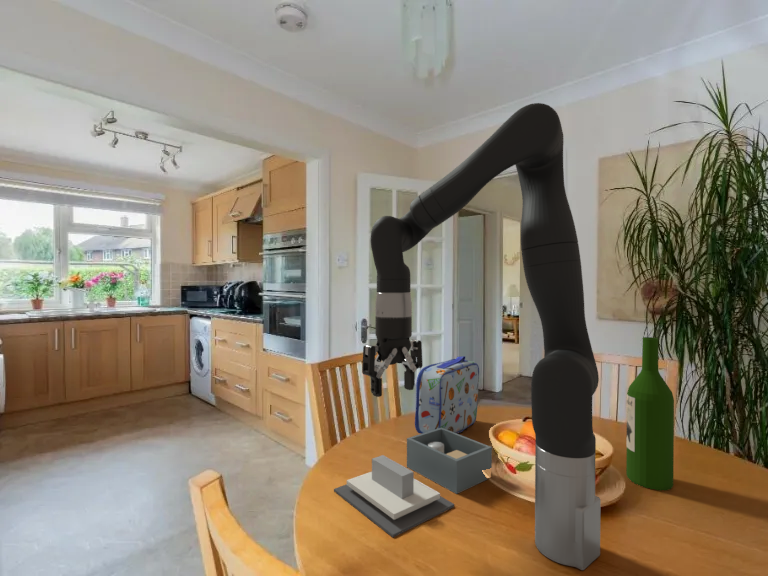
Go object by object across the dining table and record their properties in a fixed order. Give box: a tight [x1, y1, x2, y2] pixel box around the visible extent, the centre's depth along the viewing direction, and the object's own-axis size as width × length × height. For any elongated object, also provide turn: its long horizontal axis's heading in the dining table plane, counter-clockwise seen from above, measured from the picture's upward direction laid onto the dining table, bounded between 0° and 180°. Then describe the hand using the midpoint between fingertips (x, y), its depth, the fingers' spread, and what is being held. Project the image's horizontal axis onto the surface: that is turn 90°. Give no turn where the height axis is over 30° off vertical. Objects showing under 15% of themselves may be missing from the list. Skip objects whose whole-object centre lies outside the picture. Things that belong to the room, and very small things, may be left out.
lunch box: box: [414, 356, 480, 434], centre depth 123 cm, size 28×10×22 cm, turn 143°
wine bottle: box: [625, 336, 675, 491], centre depth 91 cm, size 9×9×32 cm
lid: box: [346, 454, 441, 519], centre depth 83 cm, size 16×12×6 cm
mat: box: [333, 483, 455, 538], centre depth 83 cm, size 20×16×1 cm
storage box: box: [406, 428, 493, 495], centre depth 95 cm, size 16×12×7 cm
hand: (393, 392), depth 83 cm, fingers open, 8 cm apart
